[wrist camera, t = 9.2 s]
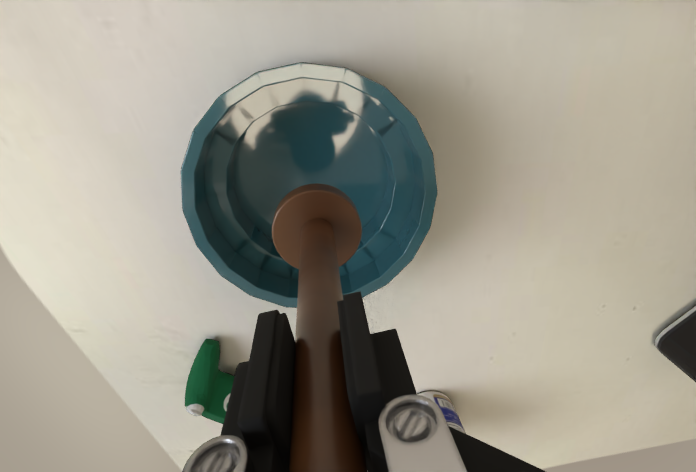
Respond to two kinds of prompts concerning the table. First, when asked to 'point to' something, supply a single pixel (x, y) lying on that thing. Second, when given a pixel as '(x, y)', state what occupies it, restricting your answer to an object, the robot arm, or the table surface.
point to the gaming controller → (208, 384)
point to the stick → (319, 326)
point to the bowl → (306, 174)
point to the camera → (680, 343)
